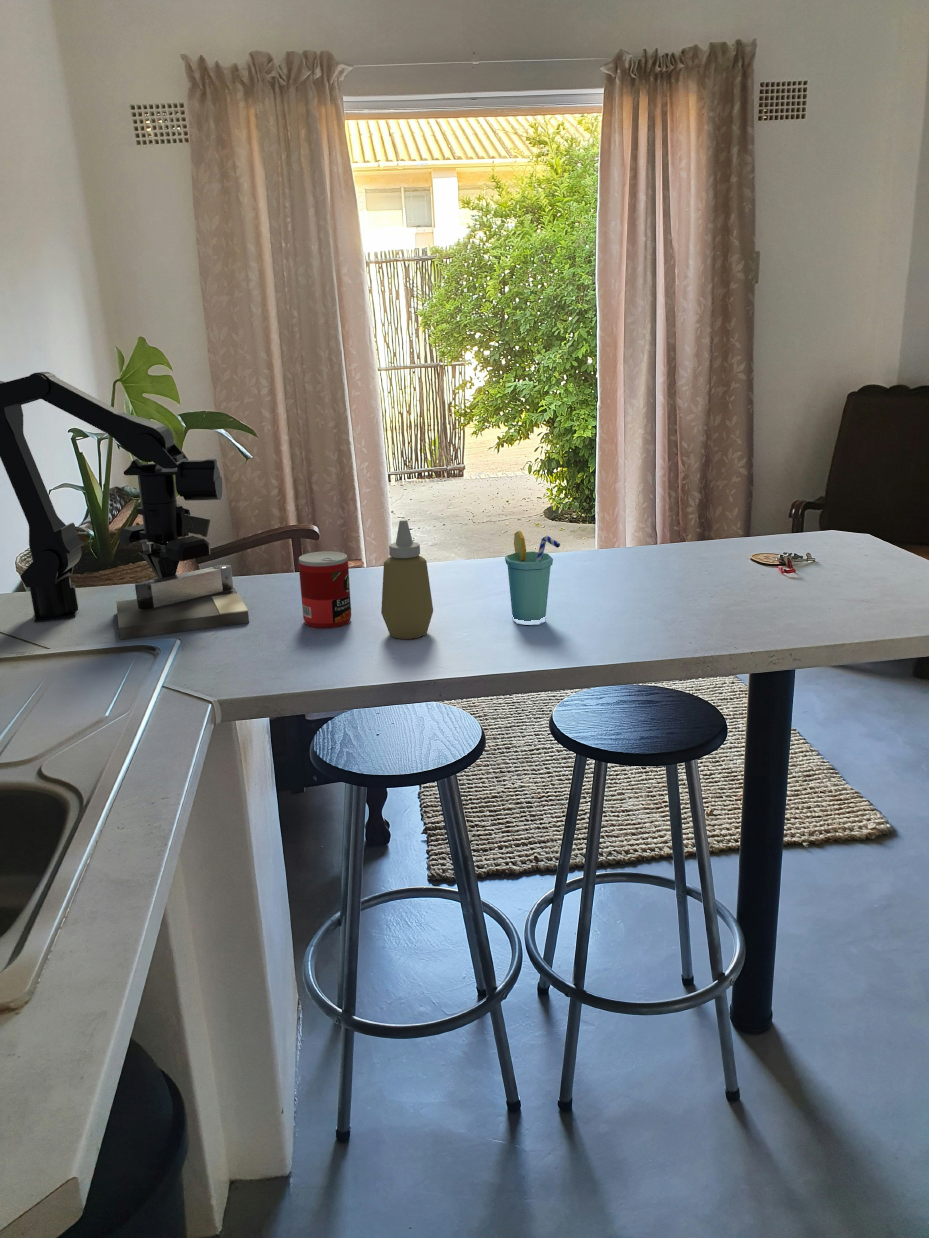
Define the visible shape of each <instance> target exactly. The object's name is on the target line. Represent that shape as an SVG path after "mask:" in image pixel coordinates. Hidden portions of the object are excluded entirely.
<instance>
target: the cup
mask: <svg viewBox="0 0 929 1238" xmlns="http://www.w3.org/2000/svg"><path fill="white" fill-rule="evenodd" d="M547 543H548V544H550V546H551V545H552V546H553V547H555V548H557V549H559V548H560V546H561V543H560V542H558V541H557V540H555V539H553V538H552V537H551V536H549V535H545V536H544V537H542V538H541V540H540V543H539V548H538V552H537V551H527V546H526V540H525V537H524V534H523V532H522V531H521V530H518V531H515V532H514V537H513V547H514V552H513V553H511V554H508V555H505V556H504V561H505V564H506V565H507V572H508V573H507V575H508V576H507V577H508V582H509V584H508V585H509V594H510V603H511V604H510V606H511V607H510V608H511V615H513V617H514V619H518V620H524V621H531V620H540V619H541V618H543V617H545V616H546V615H547V606H548V596H549V586H550V585H549V584H550V577H551V576H550V575H551V566H553V561H554V557H553V558H552V556H551V555H550V554H549V553H545V548H546V545H547ZM513 617H512V618H513Z"/></svg>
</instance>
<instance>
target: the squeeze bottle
mask: <svg viewBox="0 0 929 1238" xmlns="http://www.w3.org/2000/svg"><path fill="white" fill-rule="evenodd" d="M420 545H421V544H420V543H418V542H416V541H413V538H412V534H411V529H410V526H409V523H408V520H407V519H401V520H399V522H398V529H397V533H396V540H395V542H392V543H390V544H389V546H388V551H389V552H388V553H389V557H387V558H386V560H384V562H383V573H382V592H381V611H380V612H381V613H380V614H381V616H382V619H383V620H384V621H383V622H384V623H385V625H386V628H387V631H388V633H389V635H390V637H393V638H395V639H400V640H410V639H412V640H413V639H417V638H422V637H424V636H425V634H427V633H428V629H429V627H430V623H431V621H432V617H433V614H434V605H433V599H432V592H431V591H432V589H431V585H430V584H431V583H430V576H429V569H428V562H427V560H426V558H424V557H423V556H422V555H420V554H421V546H420ZM423 635H424V636H423ZM421 636H422V637H421Z"/></svg>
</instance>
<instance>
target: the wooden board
mask: <svg viewBox="0 0 929 1238" xmlns="http://www.w3.org/2000/svg"><path fill="white" fill-rule="evenodd" d="M115 602H116V614H117V625H118V632H119V640H121V641H122V640H128V639H135V638H143V637H151V636H159V635H166V634H173V633H174V634H175V633H183V632H190V631H197V630H204V629H211V628H212V629H213V628H218V627H219V628H220V627H226V626H227V627H229V626H235V625H243V624H249V623H250V617H249V609H248V608H247V605H245V603H244V601H243V599H242V597H241V595H240V594H239V593H238V591H237V590H236V588H235V587H233V589H232V590H229V591H222V592H218V593H214V594H209V595H205V596H201V597H197V598H193V599H188V600H184V601H180V602H176V603H171V604H167V605H163V606H159V607H154V608H151V609H138V604H137V598H133V599H127V600H118V601H115Z"/></svg>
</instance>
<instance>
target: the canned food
mask: <svg viewBox="0 0 929 1238" xmlns="http://www.w3.org/2000/svg"><path fill="white" fill-rule="evenodd" d="M349 569H350V568H349V559H348V555H347V554H346V553H343V552H340V551H329V550H328V551H327V550H326V551H314V552H307V553H305V554H302V555H300V556H299V557H298V573H299V583H300V585H299V586H300V597H301V605H302V606H301V607H302V619H303V621H304V624H305V625H306V626H308V627H311V628H316V629H333V628H338V627H339V628H340V627H342V626H345V625H347V624H348V623H350V622H349V621H351V618H352V606H351V605H352V603H351V586H350V570H349Z"/></svg>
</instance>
